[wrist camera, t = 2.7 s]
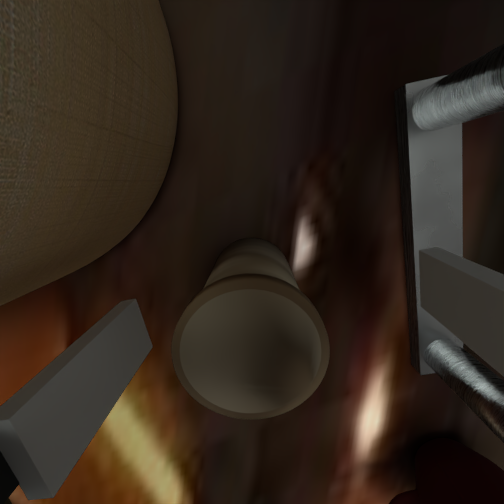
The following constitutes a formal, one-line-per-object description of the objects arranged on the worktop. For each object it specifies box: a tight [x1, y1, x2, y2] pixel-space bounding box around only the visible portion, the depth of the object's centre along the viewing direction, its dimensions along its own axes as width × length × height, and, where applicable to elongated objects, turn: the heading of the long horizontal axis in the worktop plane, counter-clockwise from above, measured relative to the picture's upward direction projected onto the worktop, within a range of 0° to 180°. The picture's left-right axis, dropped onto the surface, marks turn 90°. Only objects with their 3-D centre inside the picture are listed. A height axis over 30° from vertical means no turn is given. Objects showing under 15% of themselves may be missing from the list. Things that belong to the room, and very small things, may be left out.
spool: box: [171, 238, 330, 419], centre depth 14 cm, size 6×6×9 cm
